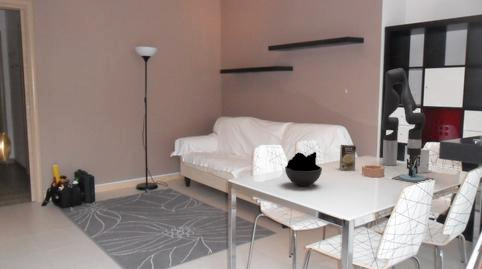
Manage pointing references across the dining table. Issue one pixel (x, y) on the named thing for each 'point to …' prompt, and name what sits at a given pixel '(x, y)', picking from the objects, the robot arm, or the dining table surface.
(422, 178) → the lid
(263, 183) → the dining table surface
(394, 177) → the mat
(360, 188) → the dining table surface
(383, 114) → the robot arm
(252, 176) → the dining table surface
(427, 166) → the skincare box
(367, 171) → the bowl
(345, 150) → the coffee box
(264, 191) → the dining table surface
